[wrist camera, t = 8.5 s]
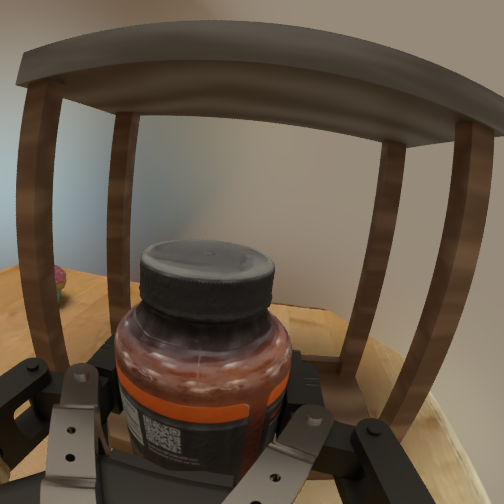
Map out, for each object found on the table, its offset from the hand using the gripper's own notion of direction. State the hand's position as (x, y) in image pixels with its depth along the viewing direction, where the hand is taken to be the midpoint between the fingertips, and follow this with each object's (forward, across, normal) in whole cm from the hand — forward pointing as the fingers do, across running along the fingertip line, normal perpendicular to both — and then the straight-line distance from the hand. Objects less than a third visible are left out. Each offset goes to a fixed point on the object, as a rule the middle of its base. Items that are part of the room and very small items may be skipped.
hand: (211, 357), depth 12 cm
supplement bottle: (-2, 0, +6) cm, 7 cm away
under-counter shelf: (+12, 0, +16) cm, 20 cm away
